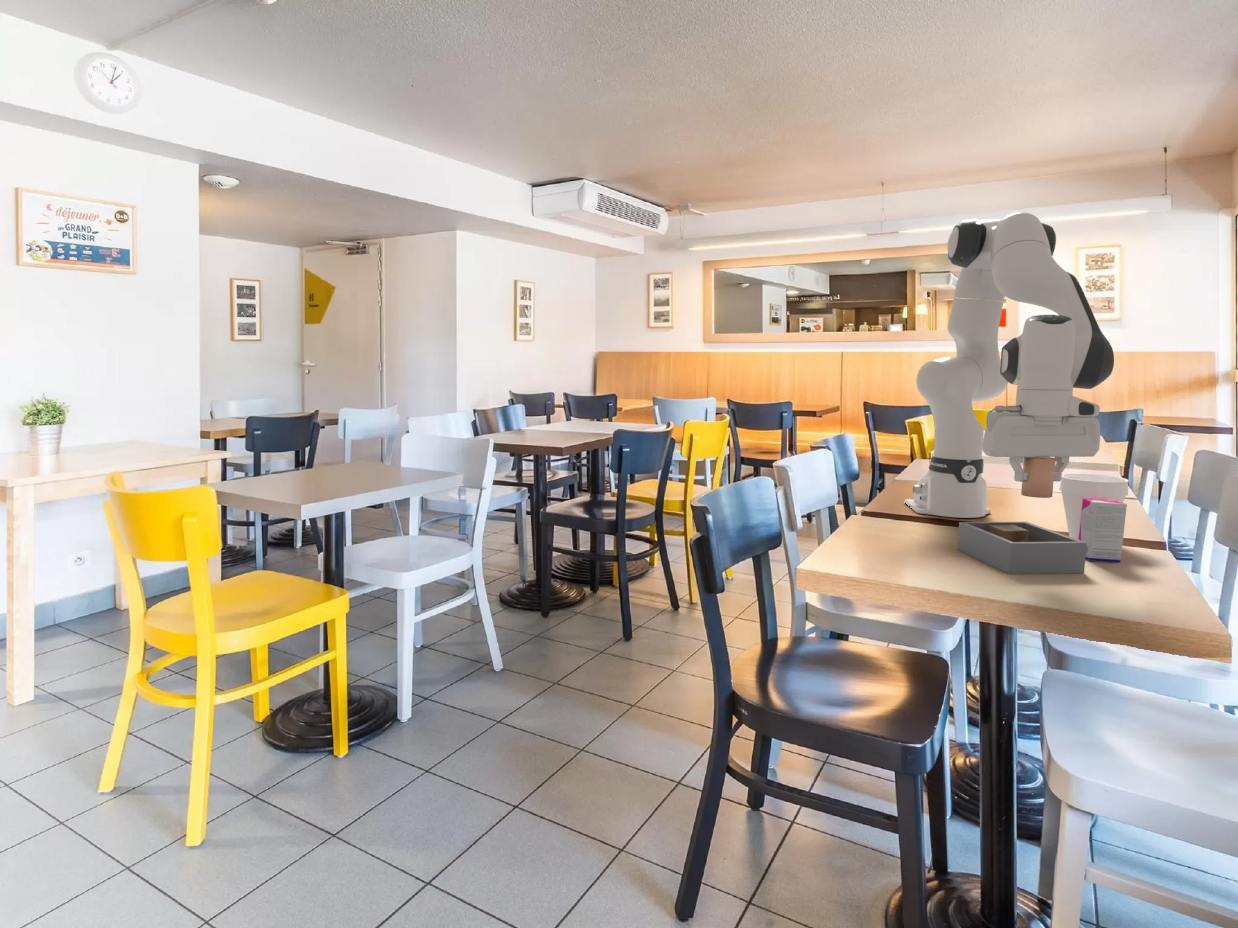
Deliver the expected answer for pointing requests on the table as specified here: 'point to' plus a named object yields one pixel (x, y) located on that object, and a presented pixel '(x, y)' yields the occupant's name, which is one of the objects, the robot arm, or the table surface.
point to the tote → (1023, 549)
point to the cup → (1088, 494)
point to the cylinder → (1038, 477)
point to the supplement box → (1102, 529)
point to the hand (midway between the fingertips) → (1037, 481)
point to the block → (1010, 532)
